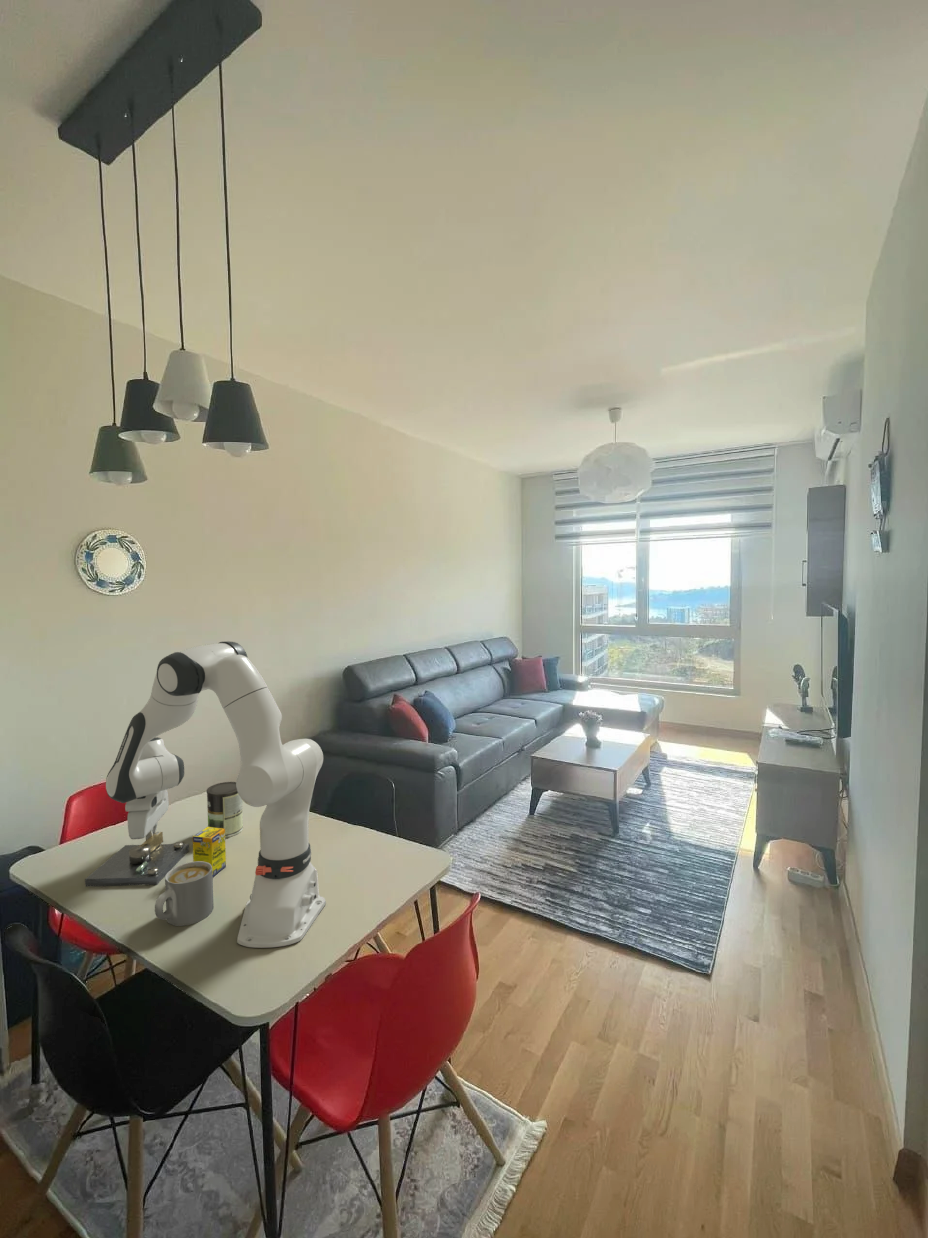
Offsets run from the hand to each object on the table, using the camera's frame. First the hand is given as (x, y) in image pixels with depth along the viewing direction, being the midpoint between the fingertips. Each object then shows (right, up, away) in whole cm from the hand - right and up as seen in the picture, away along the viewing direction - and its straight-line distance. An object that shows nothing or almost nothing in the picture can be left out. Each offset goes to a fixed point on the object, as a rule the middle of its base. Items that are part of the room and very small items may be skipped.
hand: (150, 839), depth 157 cm
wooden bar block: (+2, -2, -5) cm, 5 cm away
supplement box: (+22, -5, -10) cm, 25 cm away
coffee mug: (+25, -6, -30) cm, 40 cm away
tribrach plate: (+2, -4, -8) cm, 10 cm away
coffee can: (+16, -3, +13) cm, 21 cm away
